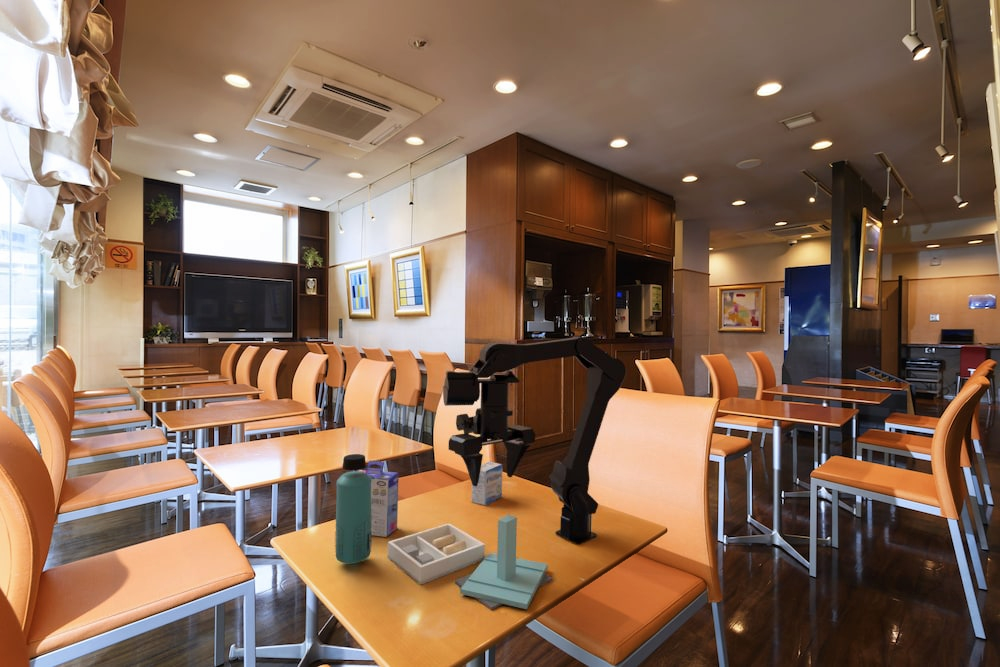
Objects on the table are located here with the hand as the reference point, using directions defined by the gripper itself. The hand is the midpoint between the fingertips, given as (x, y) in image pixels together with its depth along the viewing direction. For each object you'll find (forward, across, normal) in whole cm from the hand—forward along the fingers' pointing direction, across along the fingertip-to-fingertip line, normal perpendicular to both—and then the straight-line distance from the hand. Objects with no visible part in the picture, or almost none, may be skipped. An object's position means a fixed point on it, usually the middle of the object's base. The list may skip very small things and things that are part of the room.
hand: (492, 481), depth 95 cm
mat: (+13, +7, +12) cm, 19 cm away
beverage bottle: (+13, +25, -10) cm, 30 cm away
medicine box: (+13, -15, -20) cm, 28 cm away
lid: (+13, +7, +12) cm, 19 cm away
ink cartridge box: (+13, +16, -21) cm, 30 cm away
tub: (+13, +12, -2) cm, 18 cm away
